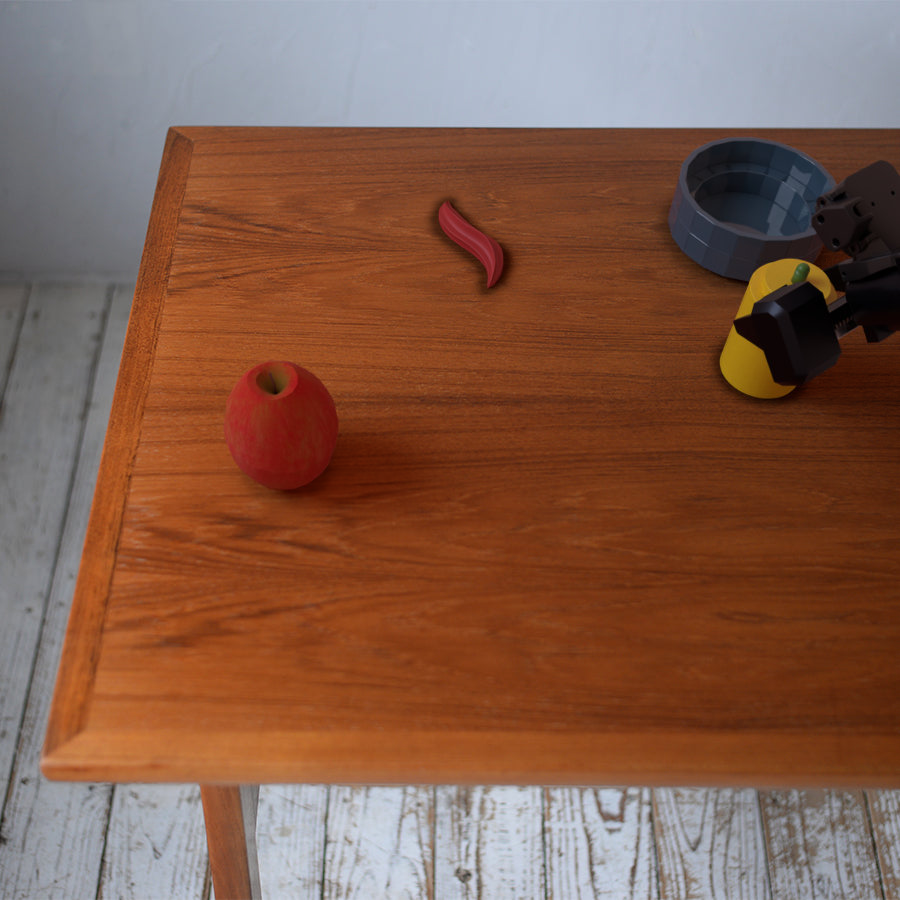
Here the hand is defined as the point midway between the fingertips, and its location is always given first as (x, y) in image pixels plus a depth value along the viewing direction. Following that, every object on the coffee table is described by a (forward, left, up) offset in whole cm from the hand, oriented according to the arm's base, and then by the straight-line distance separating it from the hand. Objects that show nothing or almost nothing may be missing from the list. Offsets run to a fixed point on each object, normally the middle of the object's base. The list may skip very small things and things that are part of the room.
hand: (777, 302), depth 75 cm
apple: (+33, +21, -7) cm, 40 cm away
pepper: (-1, +1, -7) cm, 7 cm away
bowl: (+2, -16, -7) cm, 18 cm away
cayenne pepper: (+26, -7, -7) cm, 28 cm away
